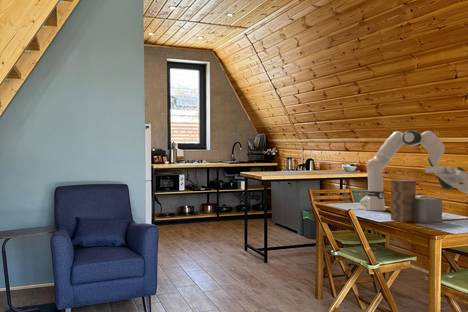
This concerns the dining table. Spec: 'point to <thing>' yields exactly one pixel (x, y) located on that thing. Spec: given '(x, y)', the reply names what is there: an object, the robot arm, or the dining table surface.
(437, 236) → the dining table surface
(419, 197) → the pneumatic valve
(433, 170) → the grey rectangular block
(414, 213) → the riser block
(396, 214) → the tall wooden cabinet
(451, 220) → the dining table surface
